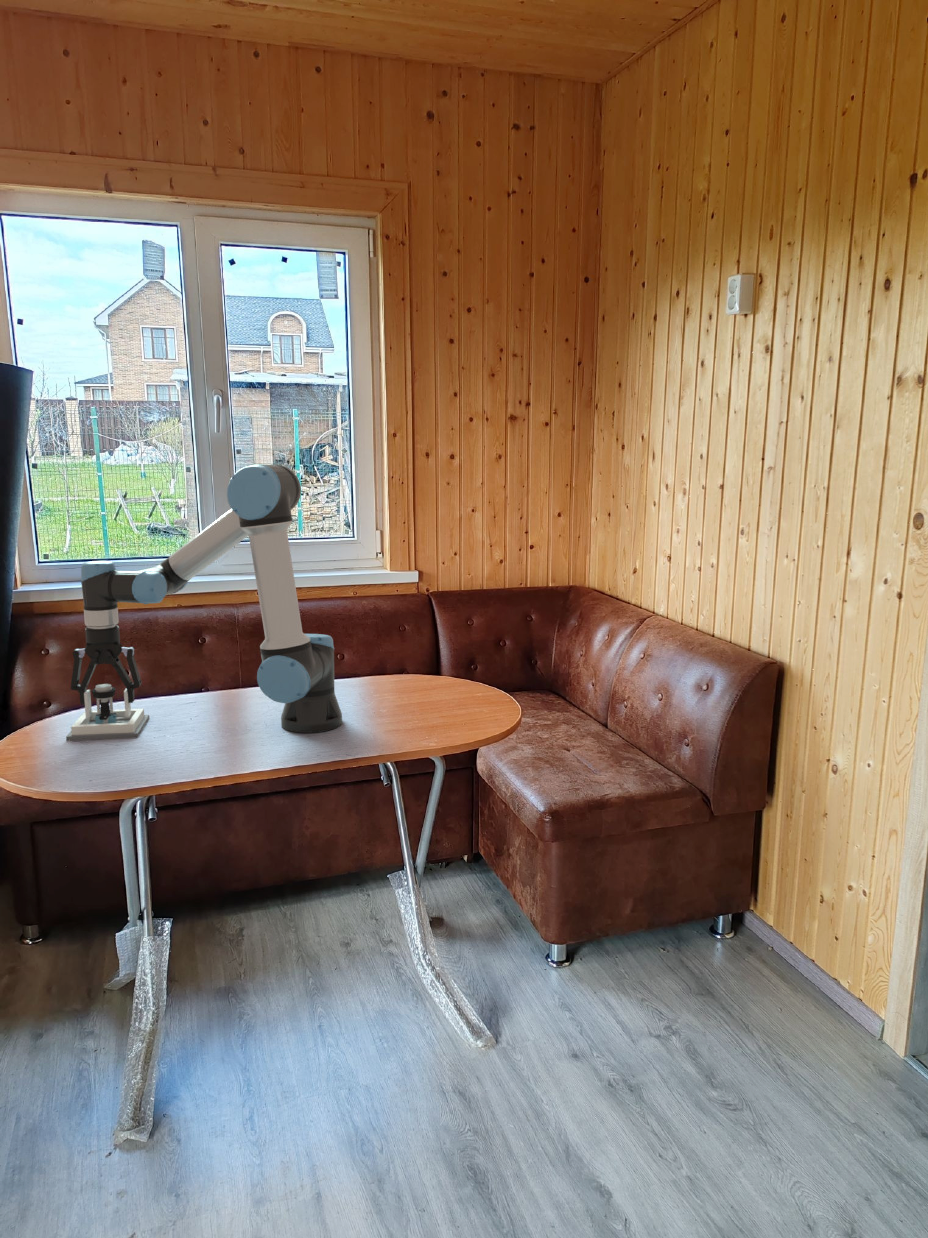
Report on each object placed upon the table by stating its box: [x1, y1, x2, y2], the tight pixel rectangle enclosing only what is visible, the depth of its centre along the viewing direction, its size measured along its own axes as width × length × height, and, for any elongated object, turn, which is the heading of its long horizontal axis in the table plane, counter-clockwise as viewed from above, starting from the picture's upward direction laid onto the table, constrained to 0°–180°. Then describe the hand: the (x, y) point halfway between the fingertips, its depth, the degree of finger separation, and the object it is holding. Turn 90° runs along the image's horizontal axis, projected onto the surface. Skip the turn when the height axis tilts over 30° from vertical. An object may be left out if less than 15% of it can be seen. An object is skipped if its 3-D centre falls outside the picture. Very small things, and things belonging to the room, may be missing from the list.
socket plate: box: [65, 708, 150, 742], centre depth 207 cm, size 16×15×3 cm
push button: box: [91, 683, 124, 724], centre depth 206 cm, size 7×5×10 cm
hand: (108, 716), depth 207 cm, fingers open, 8 cm apart
